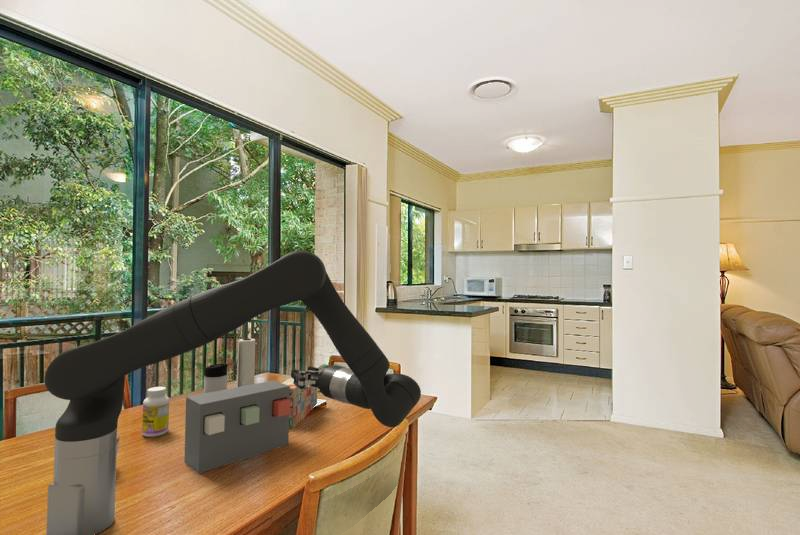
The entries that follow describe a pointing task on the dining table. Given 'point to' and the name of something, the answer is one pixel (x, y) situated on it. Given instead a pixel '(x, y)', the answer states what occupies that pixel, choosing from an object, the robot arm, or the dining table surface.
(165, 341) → the robot arm
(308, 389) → the stack of blocks
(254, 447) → the console
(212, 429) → the cream button
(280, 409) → the red button
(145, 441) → the dining table surface
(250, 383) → the paper towel roll
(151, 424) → the supplement bottle
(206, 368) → the travel mug
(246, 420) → the green button
